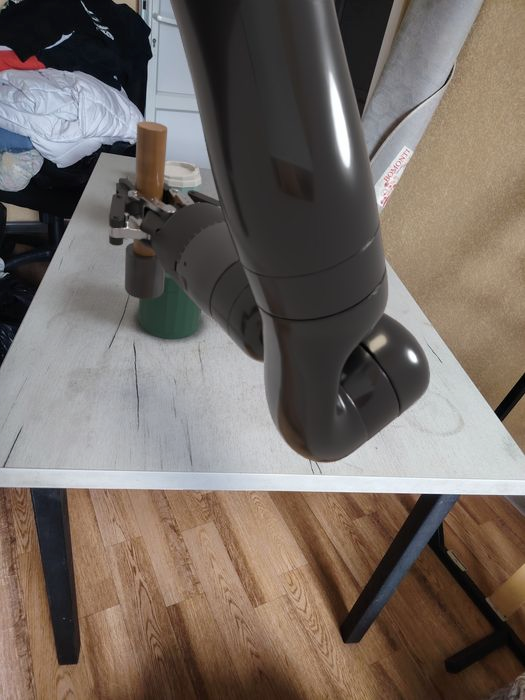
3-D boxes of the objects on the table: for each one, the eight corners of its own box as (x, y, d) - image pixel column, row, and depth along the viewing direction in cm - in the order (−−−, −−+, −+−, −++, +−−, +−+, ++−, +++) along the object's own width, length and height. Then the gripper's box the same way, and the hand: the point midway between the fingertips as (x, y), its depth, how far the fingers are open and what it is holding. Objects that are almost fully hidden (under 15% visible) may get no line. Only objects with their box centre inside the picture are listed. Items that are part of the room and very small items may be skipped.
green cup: (147, 342, 73) (151, 280, 67) (132, 306, 80) (134, 247, 73) (207, 335, 78) (216, 276, 71) (188, 302, 84) (195, 245, 78)
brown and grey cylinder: (129, 300, 53) (134, 131, 43) (121, 280, 56) (123, 116, 45) (168, 297, 55) (181, 134, 44) (158, 278, 58) (168, 121, 47)
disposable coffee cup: (151, 248, 97) (155, 175, 88) (139, 225, 104) (142, 154, 95) (201, 247, 101) (210, 177, 92) (186, 225, 109) (193, 158, 100)
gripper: (292, 217, 42) (198, 150, 52) (143, 231, 35) (67, 150, 45) (275, 289, 47) (191, 215, 57) (140, 316, 39) (71, 224, 49)
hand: (137, 186), depth 51 cm, fingers closed on brown and grey cylinder, 3 cm apart
